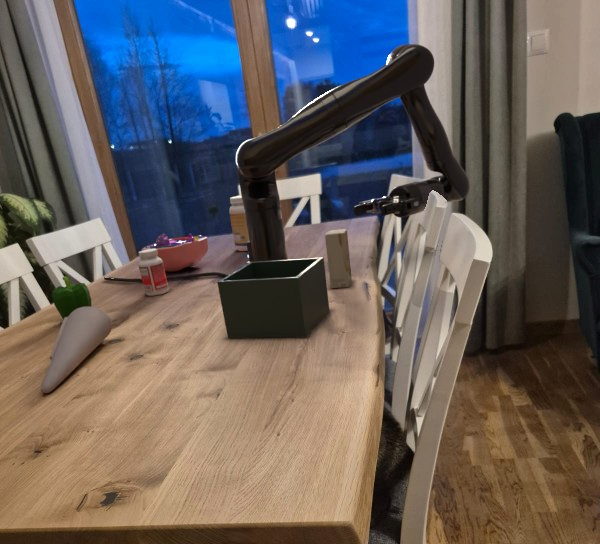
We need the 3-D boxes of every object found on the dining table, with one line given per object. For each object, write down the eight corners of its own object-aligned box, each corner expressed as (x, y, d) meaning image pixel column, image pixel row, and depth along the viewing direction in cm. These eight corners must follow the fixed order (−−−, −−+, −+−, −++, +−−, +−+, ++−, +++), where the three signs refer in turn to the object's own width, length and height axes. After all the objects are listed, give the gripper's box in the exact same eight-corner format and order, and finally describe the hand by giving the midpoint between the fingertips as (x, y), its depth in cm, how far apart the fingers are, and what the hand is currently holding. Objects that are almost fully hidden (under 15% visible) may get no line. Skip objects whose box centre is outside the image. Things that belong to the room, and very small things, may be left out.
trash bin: (227, 338, 109) (217, 281, 104) (258, 312, 122) (250, 261, 118) (305, 337, 104) (298, 277, 99) (329, 310, 117) (323, 257, 112)
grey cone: (86, 362, 92) (106, 303, 114) (30, 371, 91) (61, 309, 113) (99, 403, 96) (116, 339, 118) (46, 412, 95) (72, 345, 117)
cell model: (222, 265, 175) (215, 226, 171) (160, 280, 166) (151, 240, 161) (198, 259, 188) (191, 224, 184) (140, 273, 179) (131, 236, 174)
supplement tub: (257, 252, 188) (248, 197, 181) (228, 252, 194) (219, 199, 187) (278, 243, 197) (271, 191, 190) (250, 244, 203) (242, 193, 196)
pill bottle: (171, 288, 154) (161, 246, 150) (167, 294, 149) (157, 251, 144) (148, 291, 155) (138, 250, 150) (143, 297, 149) (132, 254, 144)
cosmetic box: (349, 287, 131) (343, 232, 126) (330, 289, 132) (324, 234, 127) (352, 280, 137) (347, 227, 132) (334, 282, 138) (328, 229, 133)
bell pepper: (93, 321, 134) (81, 278, 129) (57, 327, 133) (43, 284, 129) (99, 311, 141) (87, 271, 137) (64, 317, 140) (52, 276, 136)
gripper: (387, 184, 148) (344, 195, 139) (434, 182, 138) (391, 193, 129) (389, 214, 151) (347, 227, 142) (435, 214, 141) (393, 228, 132)
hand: (368, 211), depth 135 cm, fingers open, 8 cm apart
